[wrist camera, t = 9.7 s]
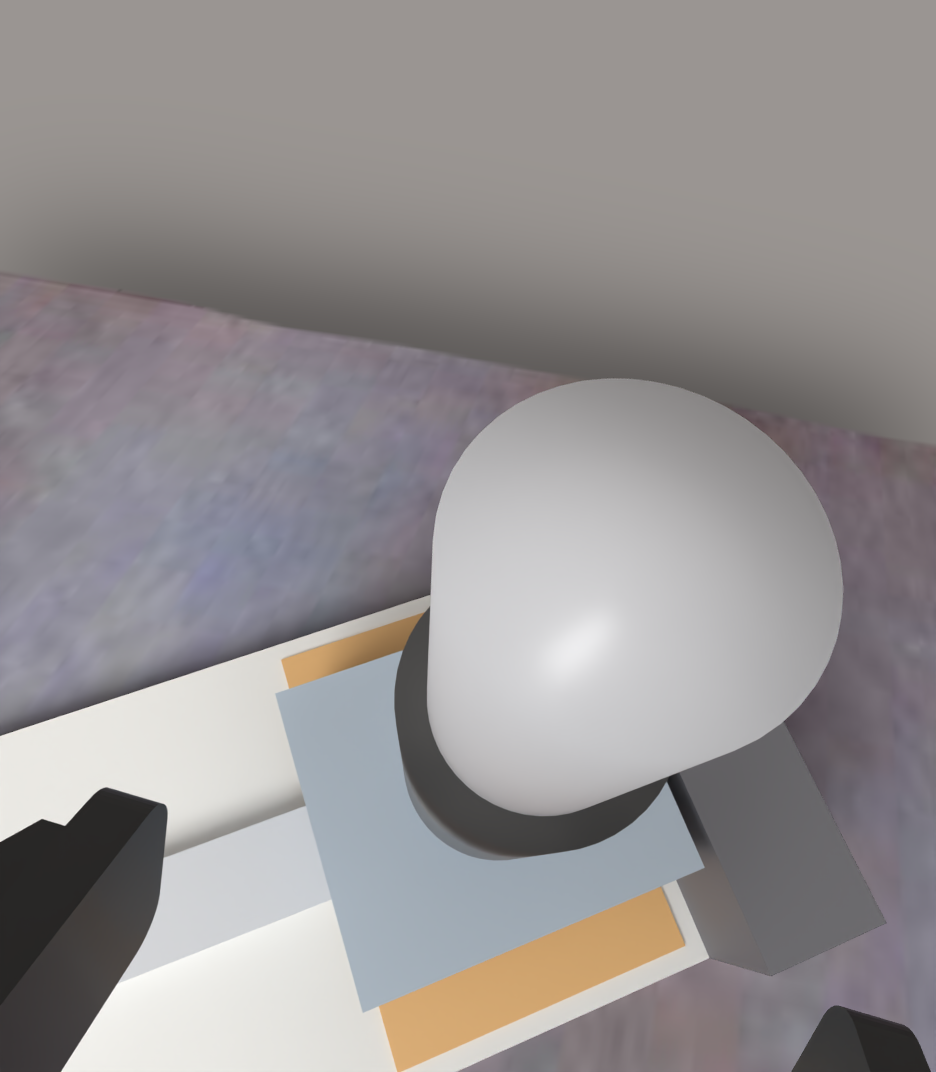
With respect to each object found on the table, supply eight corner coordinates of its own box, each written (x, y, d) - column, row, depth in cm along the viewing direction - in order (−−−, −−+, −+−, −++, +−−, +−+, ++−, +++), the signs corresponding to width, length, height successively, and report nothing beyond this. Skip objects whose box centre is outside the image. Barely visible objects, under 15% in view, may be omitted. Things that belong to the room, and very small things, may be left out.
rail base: (613, 548, 27) (657, 474, 22) (783, 911, 23) (886, 923, 18) (-298, 850, 22) (-513, 844, 17) (-296, 1392, 18) (-583, 1600, 13)
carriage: (562, 623, 23) (866, 91, 7) (666, 868, 20) (1461, 854, 5) (293, 716, 21) (-45, 298, 6) (371, 992, 19) (146, 1546, 3)
